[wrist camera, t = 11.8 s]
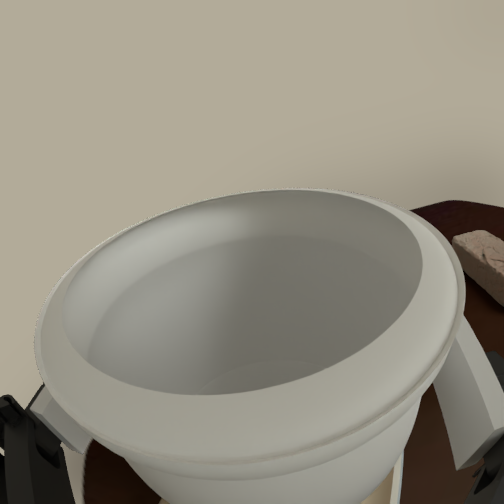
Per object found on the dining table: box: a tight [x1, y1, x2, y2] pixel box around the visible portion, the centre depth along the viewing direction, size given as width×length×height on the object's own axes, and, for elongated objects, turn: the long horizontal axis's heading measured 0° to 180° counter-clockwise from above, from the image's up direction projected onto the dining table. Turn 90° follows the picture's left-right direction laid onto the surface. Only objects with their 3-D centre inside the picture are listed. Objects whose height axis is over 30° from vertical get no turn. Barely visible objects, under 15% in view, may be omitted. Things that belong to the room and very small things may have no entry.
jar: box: [34, 188, 465, 504], centre depth 10 cm, size 11×10×15 cm
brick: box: [452, 230, 504, 307], centre depth 31 cm, size 17×8×5 cm, turn 4°
